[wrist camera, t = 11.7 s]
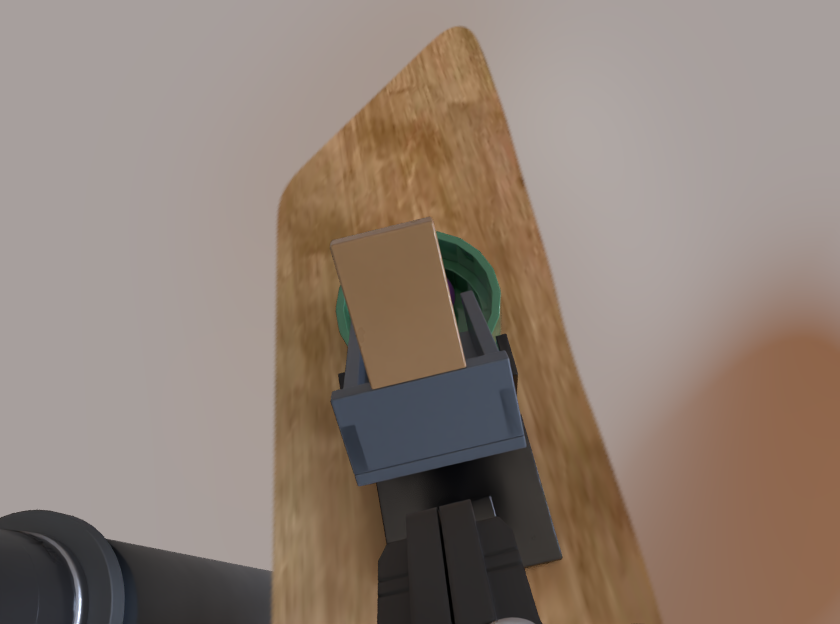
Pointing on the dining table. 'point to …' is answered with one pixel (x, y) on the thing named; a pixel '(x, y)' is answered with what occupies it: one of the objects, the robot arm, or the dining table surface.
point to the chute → (416, 361)
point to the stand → (479, 493)
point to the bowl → (454, 285)
